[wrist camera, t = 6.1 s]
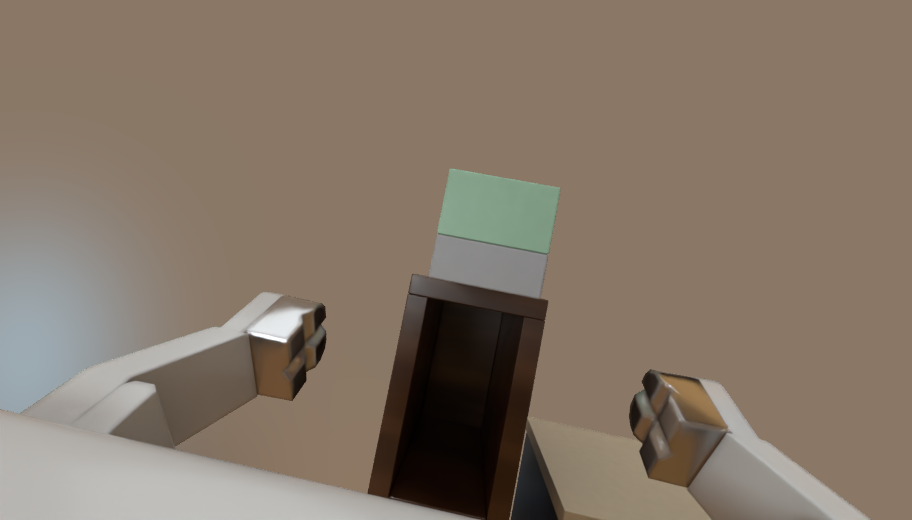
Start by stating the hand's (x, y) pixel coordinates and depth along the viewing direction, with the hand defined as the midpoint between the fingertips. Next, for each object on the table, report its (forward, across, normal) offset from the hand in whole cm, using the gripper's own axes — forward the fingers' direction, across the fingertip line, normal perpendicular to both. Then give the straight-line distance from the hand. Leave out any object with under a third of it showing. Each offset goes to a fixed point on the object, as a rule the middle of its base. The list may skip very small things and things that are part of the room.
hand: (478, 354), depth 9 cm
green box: (+13, 0, +6) cm, 15 cm away
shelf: (+4, 0, +30) cm, 31 cm away
